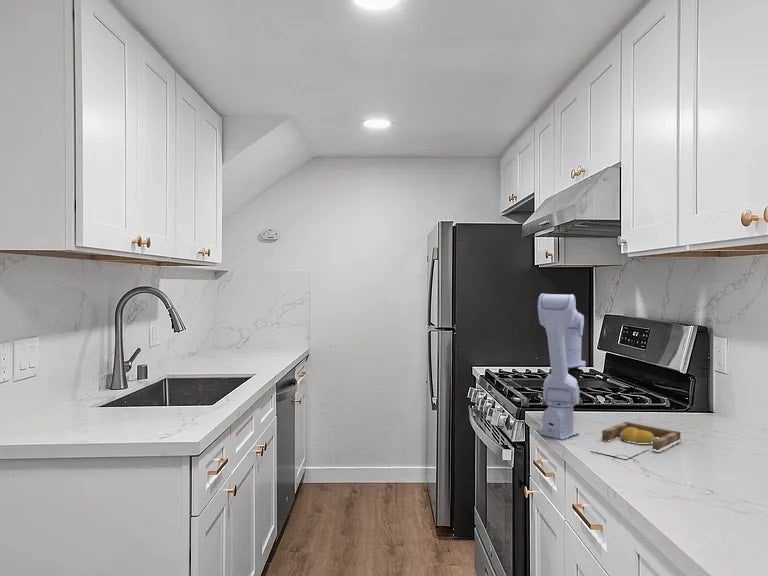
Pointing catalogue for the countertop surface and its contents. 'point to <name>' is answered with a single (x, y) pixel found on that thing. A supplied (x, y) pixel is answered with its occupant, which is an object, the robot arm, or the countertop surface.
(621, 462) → the countertop surface
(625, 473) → the countertop surface
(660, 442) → the frame
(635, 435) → the bread roll
